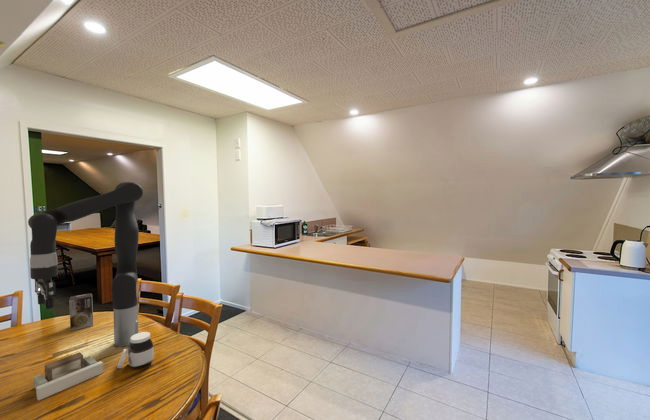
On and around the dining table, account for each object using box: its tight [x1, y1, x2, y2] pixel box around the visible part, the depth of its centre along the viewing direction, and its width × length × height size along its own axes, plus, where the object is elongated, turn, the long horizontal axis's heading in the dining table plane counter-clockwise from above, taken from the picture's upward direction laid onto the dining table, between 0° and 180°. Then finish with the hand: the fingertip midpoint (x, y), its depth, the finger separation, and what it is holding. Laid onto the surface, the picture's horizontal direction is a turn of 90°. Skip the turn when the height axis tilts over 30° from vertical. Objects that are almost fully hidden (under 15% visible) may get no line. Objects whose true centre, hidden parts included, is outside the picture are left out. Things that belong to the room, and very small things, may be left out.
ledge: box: [33, 355, 104, 402], centre depth 104 cm, size 18×10×4 cm, turn 147°
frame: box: [44, 352, 85, 382], centre depth 105 cm, size 10×4×7 cm, turn 147°
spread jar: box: [116, 331, 155, 370], centre depth 114 cm, size 12×11×12 cm
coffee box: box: [68, 292, 94, 331], centre depth 147 cm, size 9×6×16 cm
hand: (45, 306), depth 109 cm, fingers open, 8 cm apart
